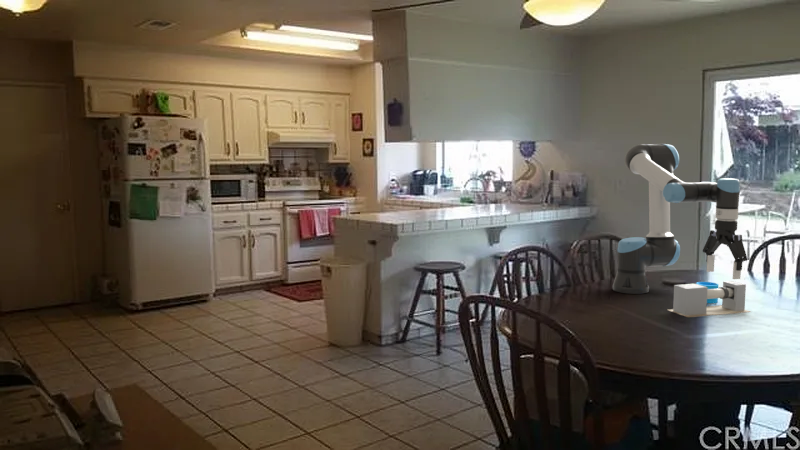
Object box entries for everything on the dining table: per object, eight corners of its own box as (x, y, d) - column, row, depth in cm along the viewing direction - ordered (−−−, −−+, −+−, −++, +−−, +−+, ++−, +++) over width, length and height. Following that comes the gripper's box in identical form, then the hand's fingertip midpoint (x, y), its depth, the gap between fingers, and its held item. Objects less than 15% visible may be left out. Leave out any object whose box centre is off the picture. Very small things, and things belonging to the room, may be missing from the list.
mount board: (666, 312, 245) (666, 309, 245) (728, 307, 252) (728, 304, 251) (687, 319, 233) (687, 317, 233) (751, 314, 240) (751, 311, 240)
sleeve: (685, 315, 236) (686, 288, 235) (673, 311, 242) (674, 285, 241) (706, 313, 238) (707, 287, 237) (693, 309, 245) (694, 283, 244)
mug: (715, 306, 253) (716, 286, 252) (693, 304, 257) (693, 284, 257) (721, 301, 262) (722, 281, 261) (700, 298, 267) (700, 279, 266)
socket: (735, 311, 241) (736, 285, 240) (722, 307, 248) (723, 281, 247) (744, 310, 242) (745, 284, 241) (730, 306, 249) (731, 281, 248)
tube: (700, 301, 238) (701, 290, 238) (692, 299, 242) (693, 287, 242) (740, 298, 243) (740, 287, 242) (731, 296, 247) (732, 285, 246)
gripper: (694, 216, 251) (691, 269, 254) (743, 224, 227) (739, 282, 230) (711, 215, 253) (708, 268, 256) (760, 223, 229) (756, 281, 232)
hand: (722, 275), depth 243 cm, fingers open, 13 cm apart
